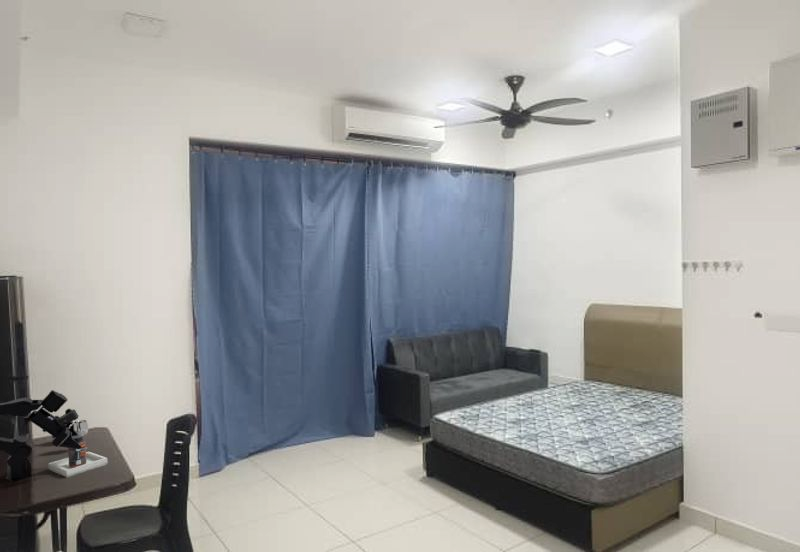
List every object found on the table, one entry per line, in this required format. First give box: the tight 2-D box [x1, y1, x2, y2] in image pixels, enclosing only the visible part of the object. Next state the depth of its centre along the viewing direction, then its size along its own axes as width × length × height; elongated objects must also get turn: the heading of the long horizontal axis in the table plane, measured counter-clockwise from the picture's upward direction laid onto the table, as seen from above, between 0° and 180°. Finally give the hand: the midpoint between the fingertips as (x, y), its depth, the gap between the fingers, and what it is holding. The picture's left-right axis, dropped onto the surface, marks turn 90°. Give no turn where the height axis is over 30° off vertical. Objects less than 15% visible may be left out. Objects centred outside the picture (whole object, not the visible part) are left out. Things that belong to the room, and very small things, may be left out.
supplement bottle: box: [67, 435, 87, 467], centre depth 212 cm, size 6×6×11 cm
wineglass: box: [73, 419, 89, 450], centre depth 233 cm, size 6×6×12 cm
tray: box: [48, 451, 109, 478], centre depth 212 cm, size 15×15×2 cm
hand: (81, 444), depth 212 cm, fingers open, 9 cm apart
